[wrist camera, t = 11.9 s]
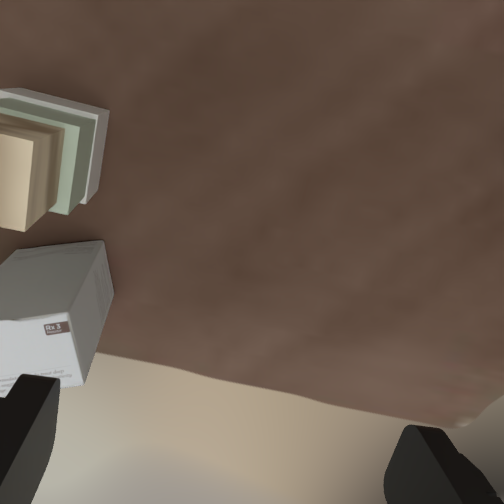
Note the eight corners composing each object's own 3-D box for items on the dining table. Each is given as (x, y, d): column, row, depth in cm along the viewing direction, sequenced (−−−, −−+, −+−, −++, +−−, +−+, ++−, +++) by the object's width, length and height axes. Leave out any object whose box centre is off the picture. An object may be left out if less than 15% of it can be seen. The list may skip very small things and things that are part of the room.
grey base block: (110, 110, 37) (98, 114, 33) (98, 189, 40) (85, 204, 35) (21, 87, 36) (-4, 89, 31) (14, 171, 38) (-10, 184, 34)
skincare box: (31, 302, 43) (-46, 410, 29) (14, 244, 40) (-78, 331, 27) (120, 292, 43) (85, 393, 30) (108, 234, 41) (65, 314, 27)
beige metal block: (65, 128, 28) (33, 141, 23) (56, 202, 30) (24, 231, 24) (-20, 107, 27) (-76, 115, 22) (-25, 186, 29) (-77, 211, 23)
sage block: (96, 119, 33) (79, 127, 28) (84, 196, 35) (67, 215, 30) (9, 97, 32) (-23, 101, 27) (2, 178, 34) (-28, 194, 29)
